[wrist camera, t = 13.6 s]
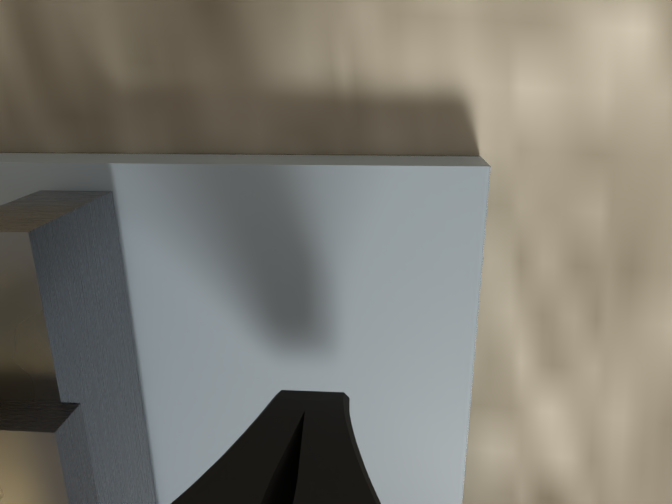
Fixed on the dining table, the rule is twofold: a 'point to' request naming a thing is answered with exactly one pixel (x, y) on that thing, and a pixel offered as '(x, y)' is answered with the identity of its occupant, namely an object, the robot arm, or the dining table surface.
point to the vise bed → (295, 298)
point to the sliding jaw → (68, 356)
